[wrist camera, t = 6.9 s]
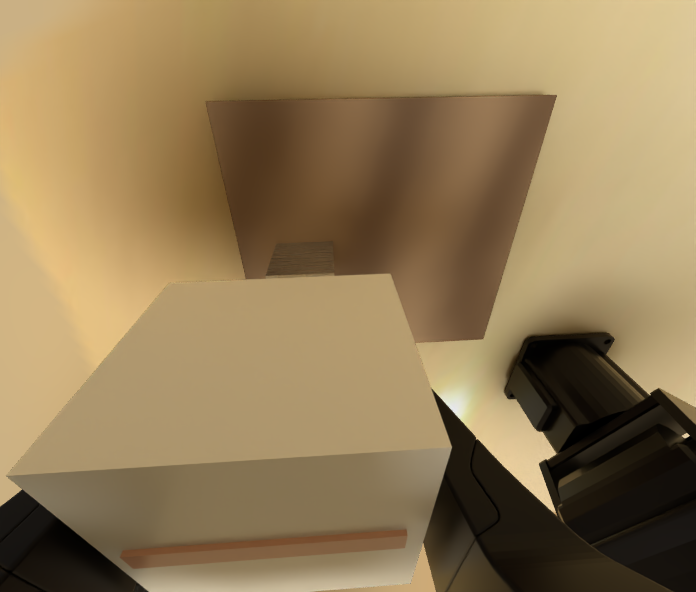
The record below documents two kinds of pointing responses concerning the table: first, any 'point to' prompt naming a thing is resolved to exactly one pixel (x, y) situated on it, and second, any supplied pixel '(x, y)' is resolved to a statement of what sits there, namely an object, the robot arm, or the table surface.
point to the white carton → (252, 440)
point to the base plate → (388, 192)
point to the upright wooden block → (301, 260)
